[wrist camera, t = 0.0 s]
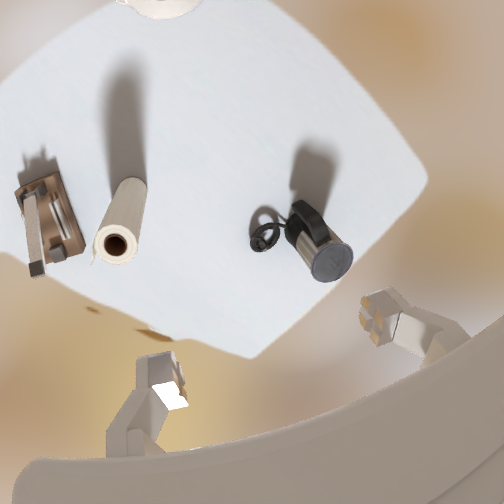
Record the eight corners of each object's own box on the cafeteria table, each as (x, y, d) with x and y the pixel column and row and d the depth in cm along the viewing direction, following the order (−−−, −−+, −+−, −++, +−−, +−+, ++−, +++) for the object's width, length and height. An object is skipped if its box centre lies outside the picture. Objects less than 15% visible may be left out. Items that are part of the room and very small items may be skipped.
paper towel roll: (146, 175, 53) (135, 223, 35) (148, 205, 56) (139, 264, 38) (110, 178, 51) (81, 227, 34) (113, 207, 54) (90, 267, 37)
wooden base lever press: (20, 187, 46) (6, 198, 41) (58, 171, 47) (46, 181, 42) (49, 256, 55) (40, 273, 50) (86, 245, 57) (79, 262, 51)
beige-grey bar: (25, 195, 43) (21, 194, 42) (37, 190, 44) (33, 188, 42) (35, 278, 43) (31, 278, 41) (48, 275, 43) (43, 275, 42)
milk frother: (328, 227, 70) (361, 261, 57) (278, 271, 72) (301, 311, 60) (294, 185, 62) (326, 214, 50) (239, 235, 65) (257, 275, 52)
